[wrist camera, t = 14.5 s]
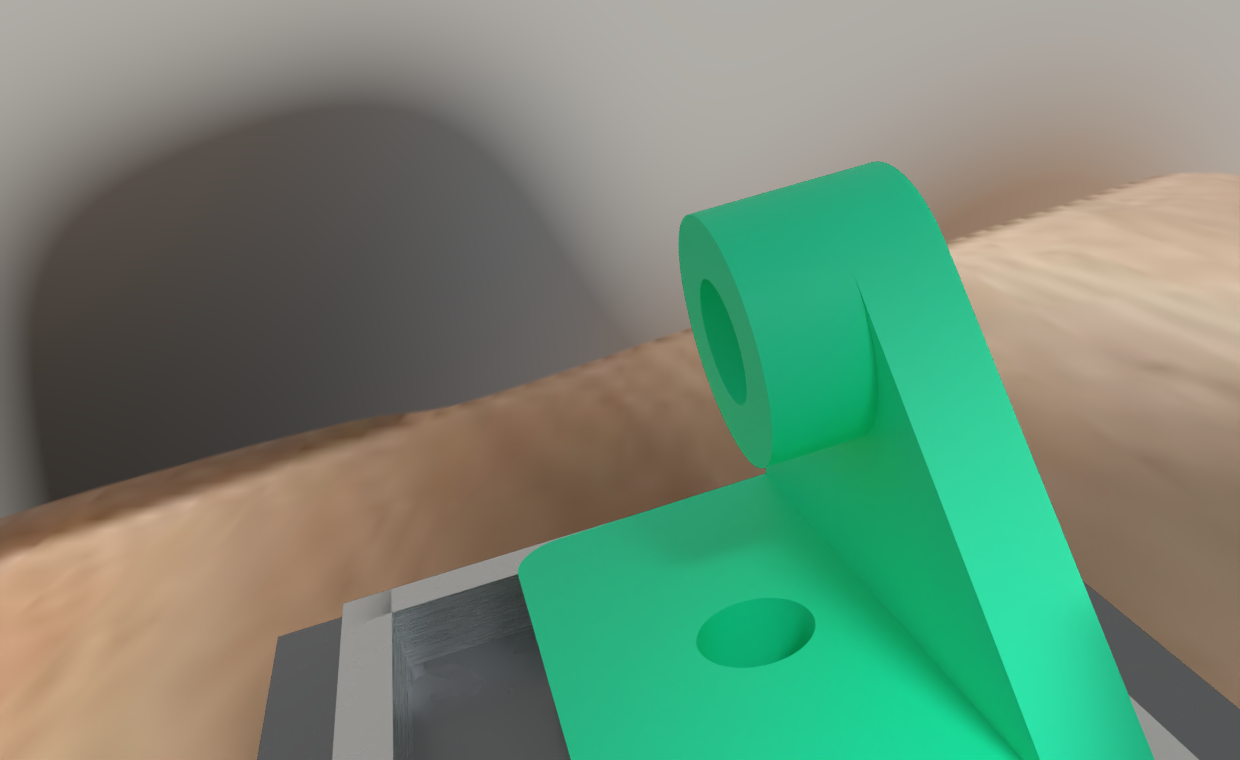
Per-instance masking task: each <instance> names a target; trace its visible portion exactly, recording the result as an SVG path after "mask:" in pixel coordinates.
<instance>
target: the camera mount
mask: <svg viewBox="0 0 1240 760" xmlns="http://www.w3.org/2000/svg"><path fill="white" fill-rule="evenodd" d="M679 260H680V269H681V277H682V284H683V290H684V295H685V300H686V305H687V309H688V314H689V318H690V322H691V326H692V330H693V334H694V337H695V341H696V345H697V348H698V351H699V355H700V358H701V361H702V364H703V367H704V370H705V373H706V376H707V379H708V381H709V384H710V387H711V390H712V392H713V395H714V397H715V400H716V402H717V405H718V407H719V409H720V412H721V414H722V416H723V418H724V420H725V423H726V425H727V427H728V429H729V431H730V433H731V434H732V436H733V438H734V440H735V442H736V443H737V445H738V446H739V448H740V450H741V451H742V452H743V454H744V455H745V456H746V458H747V459H748V460H749V461H750V462H751V463H752V464H753V465H754V466H756V467H758V468H766V473H765V474H762V475H759V476H756V477H753V478H750V479H746V480H743V481H740V482H737V483H734V484H731V485H727V486H724V487H721V488H718V489H715V490H712V491H708V492H705V493H702V494H699V495H696V496H693V497H689V498H686V499H683V500H680V501H677V502H674V503H670V504H667V505H664V506H661V507H658V508H655V509H651V510H648V511H645V512H642V513H639V514H636V515H632V516H629V517H626V518H623V519H620V520H617V521H613V522H610V523H607V524H604V525H601V526H598V527H595V528H591V529H588V530H585V531H582V532H579V533H576V534H572V535H569V536H566V537H563V538H560V539H557V540H554V541H551V542H549V543H546V544H544V545H542V546H540V547H539V548H537V549H535V550H534V551H532V552H531V553H530V554H529V555H527V556H526V557H525V558H524V559H523V561H522V562H521V564H520V565H519V568H518V577H519V580H520V584H521V587H522V591H523V594H524V598H525V601H526V605H527V608H528V612H529V615H530V619H531V622H532V626H533V629H534V633H535V636H536V640H537V643H538V647H539V650H540V654H541V657H542V661H543V664H544V668H545V671H546V675H547V678H548V682H549V685H550V689H551V692H552V696H553V699H554V703H555V706H556V710H557V713H558V717H559V720H560V724H561V727H562V731H563V734H564V738H565V741H566V745H567V748H568V752H569V755H570V759H571V760H1154V756H1153V754H1152V752H1151V749H1150V747H1149V744H1148V742H1147V739H1146V737H1145V734H1144V732H1143V729H1142V727H1141V724H1140V722H1139V719H1138V717H1137V714H1136V712H1135V709H1134V707H1133V705H1132V702H1131V700H1130V697H1129V695H1128V692H1127V690H1126V687H1125V685H1124V682H1123V680H1122V677H1121V675H1120V672H1119V670H1118V667H1117V665H1116V662H1115V660H1114V658H1113V655H1112V653H1111V650H1110V648H1109V645H1108V643H1107V640H1106V638H1105V635H1104V633H1103V630H1102V628H1101V625H1100V623H1099V620H1098V618H1097V615H1096V613H1095V611H1094V608H1093V606H1092V603H1091V601H1090V598H1089V596H1088V593H1087V591H1086V588H1085V586H1084V583H1083V581H1082V578H1081V576H1080V573H1079V571H1078V568H1077V566H1076V564H1075V561H1074V559H1073V556H1072V554H1071V551H1070V549H1069V546H1068V544H1067V541H1066V539H1065V536H1064V534H1063V531H1062V529H1061V526H1060V524H1059V521H1058V519H1057V517H1056V514H1055V512H1054V509H1053V507H1052V504H1051V502H1050V499H1049V497H1048V494H1047V492H1046V489H1045V487H1044V484H1043V482H1042V479H1041V477H1040V474H1039V472H1038V469H1037V467H1036V465H1035V462H1034V460H1033V457H1032V455H1031V452H1030V450H1029V447H1028V445H1027V442H1026V440H1025V437H1024V435H1023V432H1022V430H1021V427H1020V425H1019V422H1018V420H1017V418H1016V415H1015V413H1014V410H1013V408H1012V405H1011V403H1010V400H1009V398H1008V395H1007V393H1006V390H1005V388H1004V385H1003V383H1002V380H1001V378H1000V375H999V373H998V371H997V368H996V366H995V363H994V361H993V358H992V356H991V353H990V351H989V348H988V346H987V343H986V341H985V338H984V336H983V333H982V331H981V328H980V326H979V324H978V321H977V319H976V316H975V314H974V311H973V309H972V306H971V304H970V301H969V299H968V296H967V294H966V291H965V289H964V286H963V284H962V281H961V279H960V277H959V274H958V272H957V269H956V267H955V264H954V262H953V259H952V257H951V254H950V252H949V249H948V247H947V244H946V242H945V239H944V237H943V235H942V233H941V231H940V228H939V226H938V224H937V222H936V220H935V218H934V217H933V214H932V212H931V211H930V209H929V208H928V206H927V204H926V202H925V201H924V199H923V198H922V196H921V195H920V193H919V192H918V190H917V189H916V188H915V187H914V185H913V184H912V183H911V182H910V181H909V180H908V179H907V178H906V176H905V175H904V174H902V173H901V172H900V171H899V170H898V169H896V168H895V167H893V166H891V165H889V164H887V163H884V162H871V163H868V164H865V165H861V166H857V167H854V168H850V169H847V170H843V171H840V172H836V173H833V174H830V175H826V176H822V177H819V178H815V179H812V180H808V181H804V182H801V183H797V184H794V185H790V186H787V187H784V188H780V189H776V190H773V191H769V192H766V193H762V194H759V195H755V196H752V197H748V198H745V199H741V200H738V201H734V202H731V203H727V204H724V205H721V206H717V207H713V208H710V209H706V210H703V211H699V212H696V213H692V214H689V215H686V216H685V217H684V218H683V220H682V222H681V225H680V231H679Z"/></svg>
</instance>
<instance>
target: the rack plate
mask: <svg viewBox="0 0 1240 760" xmlns="http://www.w3.org/2000/svg"><path fill="white" fill-rule="evenodd" d="M622 519H623V518H622ZM619 520H620V519H619ZM616 521H617V520H616ZM609 523H610V522H609ZM606 524H607V523H606ZM603 525H604V524H603ZM600 526H601V525H600ZM596 527H598V526H596ZM593 528H595V527H593ZM590 529H591V528H590ZM586 530H588V529H586ZM583 531H585V530H583ZM580 532H582V531H580ZM577 533H579V532H577ZM573 534H576V533H573ZM570 535H572V534H570ZM567 536H569V535H567ZM564 537H566V536H564ZM560 538H563V537H560ZM560 538H557V539H560ZM557 539H554V540H557ZM554 540H550V541H547V542H544V543H541V544H537V545H534V546H531V547H527V548H524V549H521V550H518V551H514V552H511V553H508V554H505V555H501V556H498V557H495V558H491V559H488V560H485V561H482V562H478V563H475V564H472V565H469V566H465V567H462V568H459V569H455V570H452V571H449V572H446V573H442V574H439V575H436V576H432V577H429V578H426V579H423V580H419V581H416V582H413V583H410V584H406V585H403V586H400V587H396V588H393V589H390V590H387V591H383V592H380V593H377V594H374V595H370V596H367V597H364V598H360V599H357V600H354V601H351V602H347V603H344V604H343V613H342V617H341V618H338V619H335V620H332V621H328V622H325V623H322V624H319V625H315V626H312V627H309V628H306V629H302V630H299V631H296V632H293V633H289V634H286V635H283V636H279V637H278V641H277V647H276V653H275V659H274V665H273V671H272V676H271V682H270V688H269V694H268V700H267V706H266V712H265V717H264V723H263V729H262V735H261V741H260V747H259V753H258V758H257V760H571V759H570V755H569V752H568V748H567V745H566V741H565V738H564V734H563V731H562V727H561V724H560V720H559V717H558V713H557V710H556V706H555V703H554V699H553V696H552V692H551V689H550V685H549V682H548V678H547V675H546V671H545V668H544V664H543V661H542V657H541V654H540V650H539V647H538V643H537V640H536V636H535V633H534V629H533V626H532V622H531V619H530V615H529V612H528V608H527V605H526V601H525V598H524V594H523V591H522V587H521V584H520V580H519V577H518V568H519V565H520V564H521V562H522V561H523V559H524V558H525V557H526V556H527V555H529V554H530V553H531V552H532V551H534V550H535V549H537V548H539V547H540V546H542V545H544V544H546V543H549V542H551V541H554ZM1083 583H1084V586H1085V588H1086V591H1087V593H1088V596H1089V598H1090V601H1091V603H1092V606H1093V608H1094V611H1095V613H1096V615H1097V618H1098V620H1099V623H1100V625H1101V628H1102V630H1103V633H1104V635H1105V638H1106V640H1107V643H1108V645H1109V648H1110V650H1111V653H1112V655H1113V658H1114V660H1115V662H1116V665H1117V667H1118V670H1119V672H1120V675H1121V677H1122V680H1123V682H1124V685H1125V687H1126V690H1127V692H1128V695H1129V697H1130V700H1131V702H1132V705H1133V707H1134V709H1135V712H1136V714H1137V717H1138V719H1139V722H1140V724H1141V727H1142V729H1143V732H1144V734H1145V737H1146V739H1147V742H1148V744H1149V747H1150V749H1151V752H1152V754H1153V756H1154V760H1240V709H1239V708H1237V707H1236V706H1235V705H1234V704H1233V703H1231V702H1230V701H1229V700H1228V699H1226V698H1225V697H1224V696H1223V695H1222V694H1220V693H1219V692H1218V691H1217V690H1215V689H1214V688H1213V687H1212V686H1211V685H1209V684H1208V683H1207V682H1206V681H1204V680H1203V679H1202V678H1201V677H1200V676H1198V675H1197V674H1196V673H1195V672H1193V671H1192V670H1191V669H1190V668H1189V667H1187V666H1186V665H1185V664H1184V663H1182V662H1181V661H1180V660H1179V659H1177V658H1176V657H1175V656H1174V655H1173V654H1171V653H1170V652H1169V651H1168V650H1166V649H1165V648H1164V647H1163V646H1162V645H1160V644H1159V643H1158V642H1157V641H1155V640H1154V639H1153V638H1152V637H1151V636H1149V635H1148V634H1147V633H1146V632H1144V631H1143V630H1142V629H1141V628H1140V627H1138V626H1137V625H1136V624H1135V623H1133V622H1132V621H1131V620H1130V619H1129V618H1127V617H1126V616H1125V615H1124V614H1122V613H1121V612H1120V611H1119V610H1118V609H1116V608H1115V607H1114V606H1113V605H1111V604H1110V603H1109V602H1108V601H1107V600H1105V599H1104V598H1103V597H1102V596H1100V595H1099V594H1098V593H1097V592H1096V591H1094V590H1093V589H1092V588H1091V587H1089V586H1088V585H1087V584H1086V583H1085V582H1083Z"/></svg>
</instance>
